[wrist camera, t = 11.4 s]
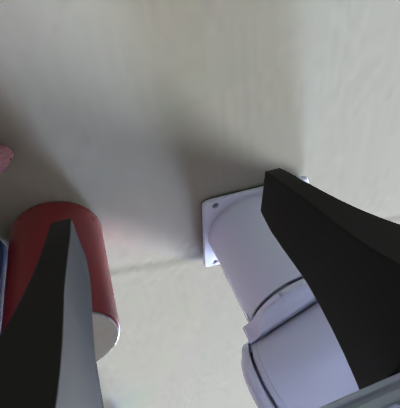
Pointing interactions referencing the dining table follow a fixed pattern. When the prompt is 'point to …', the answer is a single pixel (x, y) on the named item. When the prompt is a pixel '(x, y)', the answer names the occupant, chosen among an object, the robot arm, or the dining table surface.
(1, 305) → the tin can navy
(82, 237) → the tin can burgundy
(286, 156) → the dining table surface
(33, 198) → the dining table surface
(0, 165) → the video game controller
